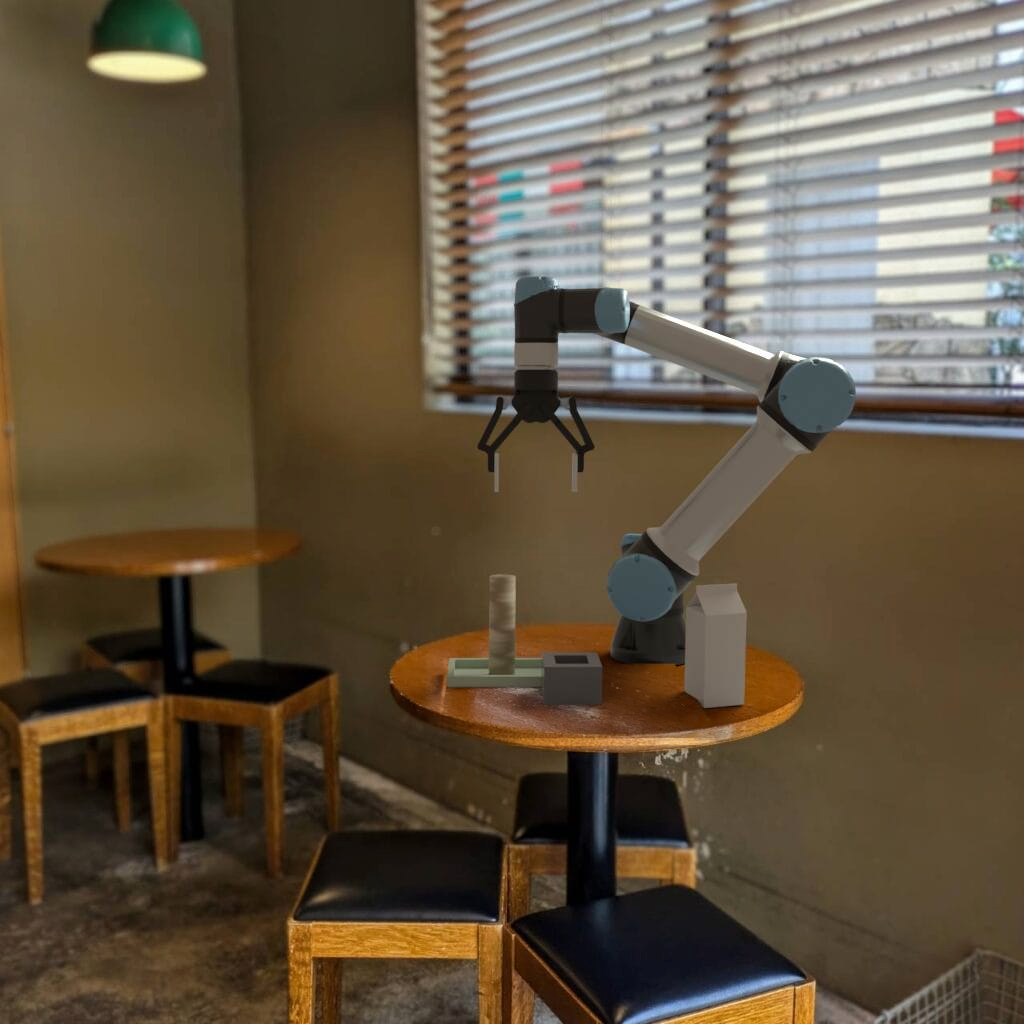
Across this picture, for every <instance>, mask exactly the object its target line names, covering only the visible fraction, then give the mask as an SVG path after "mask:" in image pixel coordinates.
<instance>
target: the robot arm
mask: <svg viewBox="0 0 1024 1024" xmlns="http://www.w3.org/2000/svg"><path fill="white" fill-rule="evenodd" d="M514 291H515V294H514V303H513V308H514V348H513V349H514V355H513V356H514V358H513V359H514V361H513V362H514V366H515V367H517V369H516V370H515V371H514V374H513V375H514V378H513V379H514V380H513V381H514V385H513V386H514V388H513V391H514V393H513V394H514V395H513V397H512V398H509V397H503V396H497V398H496V402H495V409H494V411H493V414H492V415H491V418H490V420H489V421H488V423H487V426H486V428H485V429H484V431H483V433H482V435H481V438H480V439H479V442H478V443H477V449H478V450H479V451H482V452H484V453H486V454H487V471H488V473H494V474H493V475H494V477H493V478H494V487H493V488H494V493H499V492H500V454H499V453H498V452H497V453H496V451H497V450H498V449H499V448H500V447H501V446H502V444H503V443H504V441H506V439H507V438H508V437H509V436H510V434H511V433H513V431H514V430H515V429H516V427H517V426H519V424H520V423H521V422H522V421H523V422H524V423H527V424H532V423H536V422H537V423H540V424H545V423H547V422H549V421H551V423H552V424H553V425H554V426H555V428H556V429H558V431H559V432H560V434H561V435H562V436H563V437H564V439H566V441H567V442H568V443H569V444H570V445H571V447H572V448H573V449H574V451H575V453H572V454H571V492H572V493H577V492H578V473H583V472H584V469H585V454H586V453H588V452H591V451H593V450H595V448H596V447H595V444H594V442H593V440H592V438H591V436H590V433H589V432H588V429H587V427H586V425H585V423H584V421H583V419H582V418H581V415H580V413H579V411H578V408H577V407H578V406H577V399H576V397H574V396H569V397H563V398H560V397H559V393H558V392H559V372H558V370H556V369H555V367H558V366H559V334H592V335H597V336H599V337H602V338H606V339H609V340H611V341H614V342H617V343H620V344H623V345H624V346H628V347H630V348H633V349H636V350H639V351H640V352H643V353H646V354H649V355H651V356H653V357H655V358H660V359H662V360H664V361H667V362H669V363H673V364H674V365H678V366H680V367H683V368H685V369H688V370H691V371H693V372H696V373H698V374H701V375H703V376H706V377H709V378H712V379H715V380H717V381H720V382H723V383H724V384H728V385H730V386H733V387H735V388H736V389H737V388H738V389H741V390H743V391H745V392H748V393H751V394H754V395H756V396H757V399H758V401H759V404H758V405H757V406H756V415H757V417H756V421H755V422H754V423H753V424H752V425H751V426H750V428H749V429H747V431H746V432H745V433H744V435H742V436H741V437H740V439H739V440H738V441H737V442H736V443H735V444H734V445H733V447H732V448H731V449H729V451H728V452H727V453H726V455H724V457H722V458H721V460H720V461H719V462H718V463H717V464H716V465H715V467H713V469H711V471H710V472H709V473H708V474H707V476H705V478H704V479H702V481H701V482H700V483H699V484H698V485H697V486H696V488H695V489H694V490H693V491H692V492H691V493H690V494H689V495H688V496H687V498H685V500H683V502H682V503H681V504H680V505H679V506H678V507H677V509H675V511H674V512H673V513H672V514H671V515H670V516H669V517H668V518H667V520H665V522H664V523H663V524H662V525H660V526H658V527H657V526H655V527H653V526H652V527H648V528H646V529H645V531H644V532H643V533H626V534H624V535H623V536H622V538H621V545H620V551H621V556H620V558H619V559H618V560H616V562H614V563H613V565H612V566H611V568H610V569H609V572H608V575H607V578H606V579H607V581H606V591H607V596H608V599H609V602H610V603H611V605H612V607H614V608H615V610H616V611H617V612H618V613H619V614H620V615H619V618H618V620H617V621H618V622H617V624H616V627H615V630H614V633H613V636H612V639H611V642H610V657H611V658H612V659H613V660H615V661H617V662H621V663H623V664H628V665H635V664H636V665H637V664H638V665H641V664H642V665H643V664H644V665H651V664H654V665H655V664H656V665H657V664H660V665H663V664H667V665H668V664H669V665H670V664H671V665H672V664H673V665H675V666H678V665H683V664H684V665H685V641H686V618H685V590H686V589H687V588H688V587H689V585H691V583H692V582H693V581H695V579H696V578H697V577H698V576H699V575H700V564H699V563H700V561H701V559H702V558H703V557H704V556H705V555H706V554H707V553H708V551H710V549H711V548H712V547H713V546H714V545H715V544H716V543H717V542H718V541H719V540H720V538H721V537H723V535H724V534H725V533H726V532H727V531H728V530H729V529H730V528H731V526H733V524H734V523H735V522H736V521H738V519H739V518H740V517H741V516H742V515H743V513H745V512H746V511H747V509H748V508H749V507H750V506H751V505H752V504H753V503H754V502H755V501H756V500H757V498H758V497H759V496H760V495H761V494H763V492H764V491H765V490H766V489H767V488H768V486H770V485H771V484H772V482H773V481H774V480H775V479H776V478H777V477H778V476H779V475H780V474H781V472H782V471H784V470H785V468H786V467H787V466H788V465H789V464H790V463H791V462H792V460H793V459H795V457H796V456H798V455H803V454H804V455H805V454H812V452H814V450H815V449H816V448H817V447H818V446H819V445H820V444H821V443H822V442H823V441H824V440H825V439H826V437H828V435H829V434H831V432H832V431H834V429H837V427H840V426H841V425H842V424H843V423H844V422H845V421H846V420H847V419H848V418H849V416H850V415H851V413H852V411H853V409H854V407H855V402H856V397H857V396H856V395H857V393H856V392H857V391H856V385H855V381H854V380H853V379H854V378H853V377H852V376H851V374H850V372H849V371H848V370H847V369H846V368H845V367H844V365H841V364H840V363H838V362H837V361H836V360H834V359H831V358H828V357H823V356H812V357H803V356H798V355H794V354H790V353H788V352H785V351H782V350H780V351H778V352H776V353H771V352H769V351H766V350H763V349H760V348H759V347H755V346H753V345H750V344H747V343H744V342H741V341H739V340H737V339H734V338H730V337H728V336H725V335H723V334H719V333H717V332H714V331H712V330H709V329H706V328H703V327H701V326H698V325H695V324H693V323H691V322H687V321H685V320H681V319H679V318H676V317H674V316H671V315H668V314H666V313H663V312H660V311H657V310H654V309H653V308H649V307H646V306H644V305H642V304H637V303H635V302H633V301H630V298H629V297H630V296H629V292H628V291H627V290H626V289H624V288H621V287H619V288H617V287H616V288H615V287H609V286H607V287H596V288H595V287H592V288H590V287H588V288H569V289H568V288H563V287H562V288H561V286H560V285H559V280H558V278H556V277H554V276H538V275H537V276H524V277H520V278H519V279H518V280H517V281H516V283H515V290H514ZM510 405H511V406H512V408H513V409H514V410H515V412H516V414H515V415H514V417H512V419H511V420H510V422H509V423H508V424H507V425H506V426H505V428H504V429H503V430H502V431H501V432H500V433H499V434H498V436H497V437H496V438H495V439H494V440H493V442H492V443H491V444H490V445H489V444H487V443H488V441H489V439H490V438H491V435H492V433H493V431H494V429H495V427H496V425H497V423H498V422H499V420H500V417H501V415H502V413H503V411H505V410H507V409H508V407H509V406H510ZM561 406H563V407H564V409H565V410H567V411H569V414H570V416H571V418H572V420H573V422H574V424H575V426H576V428H577V431H578V432H579V434H580V436H581V438H582V441H583V442H584V444H583V445H581V444H580V443H579V441H578V440H577V439H576V437H575V436H574V435H573V434H572V432H571V431H570V430H569V429H568V428H567V426H566V425H564V423H563V422H562V421H561V420H560V418H559V417H558V416H557V415H556V412H557V411H558V410H559V408H560V407H561Z"/></svg>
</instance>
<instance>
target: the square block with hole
mask: <svg viewBox="0 0 1024 1024" xmlns="http://www.w3.org/2000/svg"><path fill="white" fill-rule="evenodd" d="M541 658H542V687H541V692H542V693H541V694H542V699H543V700H542V701H543V705H544V706H549V705H550V706H591V705H593V706H599V705H600V706H602V705H603V665H602V662H601V660H600V657H599V654H598V652H597V651H595V652H594V651H593V652H588V651H587V652H583V651H582V652H577V651H576V652H574V651H573V652H570V651H569V652H568V651H567V652H566V651H565V652H564V651H563V652H561V651H560V652H543V651H542V652H541Z"/></svg>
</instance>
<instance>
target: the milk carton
mask: <svg viewBox="0 0 1024 1024" xmlns="http://www.w3.org/2000/svg"><path fill="white" fill-rule="evenodd" d="M742 600H743V599H741V596H740V594H739V592H738V583H723V584H721V583H720V584H718V583H717V584H704V585H703V584H701V585H695V593H694V595H693V596H692V597H691V599H690V600H689V602H688V603H687V604H686V606H685V607H686V608H685V623H686V641H685V663H684V690H683V691H684V692H685V693H687V694H688V695H690V696H691V697H693V698H694V699H697V701H698V703H699V704H700V706H701V707H702V708H703V709H709V708H711V709H712V708H719V707H720V708H721V707H731V706H743V705H744V704H745V689H746V688H745V683H746V681H745V680H746V679H745V678H746V677H745V676H746V655H747V654H746V653H747V648H746V647H747V620H748V619H747V614H748V612H747V610H746V607H745V605H744V603H743V601H742Z"/></svg>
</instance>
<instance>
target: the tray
mask: <svg viewBox="0 0 1024 1024" xmlns="http://www.w3.org/2000/svg"><path fill="white" fill-rule="evenodd" d="M447 667H448V668H447V674H446V688H542V657H515V675H489V657H449V661H448V666H447Z"/></svg>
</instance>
